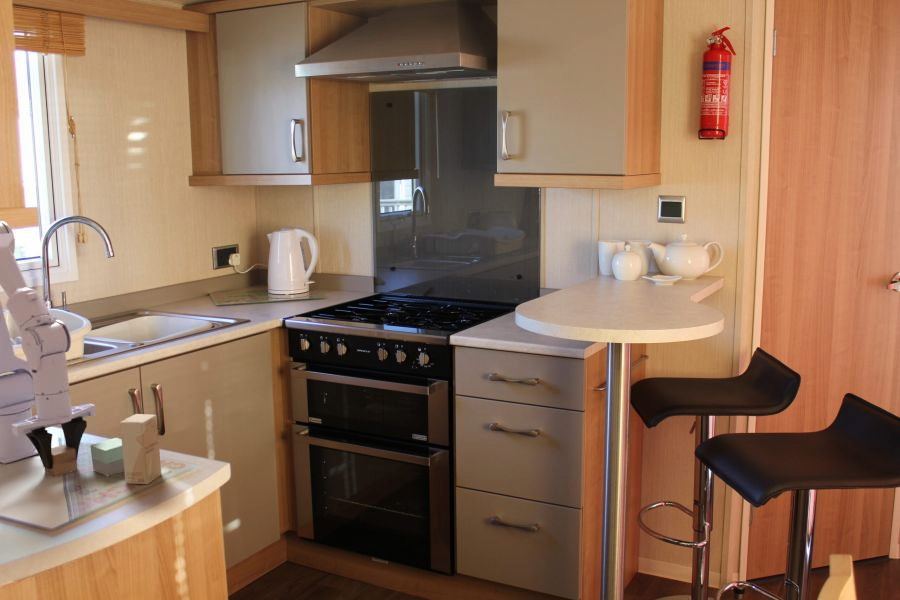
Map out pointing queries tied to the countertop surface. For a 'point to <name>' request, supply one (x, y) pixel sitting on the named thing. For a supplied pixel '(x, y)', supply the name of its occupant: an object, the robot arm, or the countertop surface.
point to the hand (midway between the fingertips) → (60, 463)
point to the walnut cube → (62, 460)
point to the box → (140, 448)
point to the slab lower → (108, 467)
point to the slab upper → (107, 451)
